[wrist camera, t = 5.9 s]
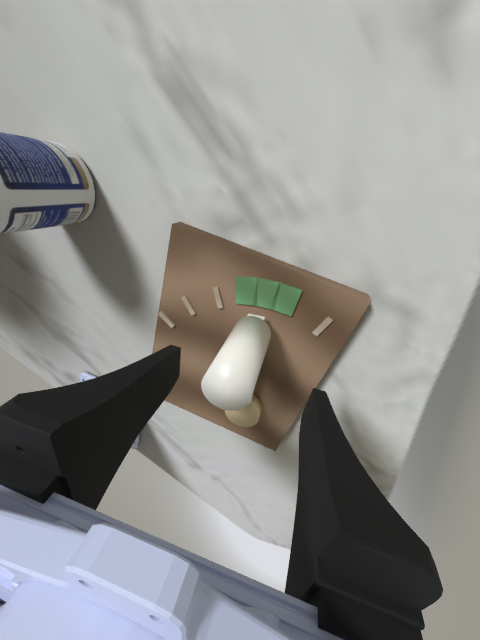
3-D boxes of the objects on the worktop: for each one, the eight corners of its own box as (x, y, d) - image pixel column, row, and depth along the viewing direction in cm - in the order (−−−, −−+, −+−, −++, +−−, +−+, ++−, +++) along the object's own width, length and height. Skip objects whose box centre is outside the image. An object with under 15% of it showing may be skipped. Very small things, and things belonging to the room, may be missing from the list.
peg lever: (259, 420, 23) (238, 503, 17) (227, 411, 24) (196, 488, 17) (278, 313, 18) (258, 378, 12) (237, 305, 18) (197, 363, 12)
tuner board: (276, 440, 26) (274, 452, 24) (152, 384, 27) (145, 393, 26) (368, 294, 17) (372, 302, 16) (180, 222, 18) (170, 224, 17)
